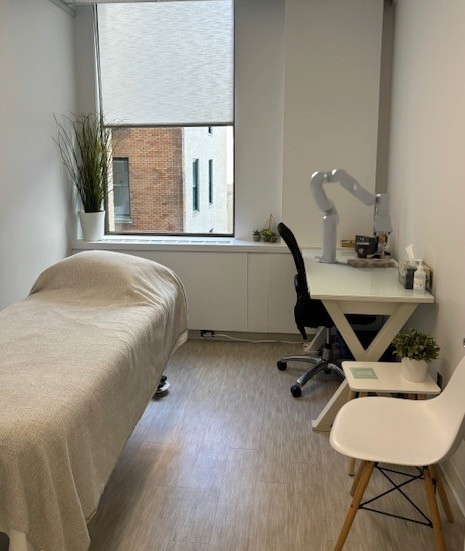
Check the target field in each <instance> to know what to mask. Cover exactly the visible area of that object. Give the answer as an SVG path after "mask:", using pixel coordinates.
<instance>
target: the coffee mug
mask: <svg viewBox="0 0 465 551" xmlns="http://www.w3.org/2000/svg"><path fill="white" fill-rule="evenodd" d="M355 246H356V257H357V259H362V258H363V259H364V258H365V259H368V255H369V254H371V253H372V252H373V251H374V250H375V247H374V246H373V245H370V243H369V242H356V245H355ZM371 247H372V248H373V249H372V251H370V252H368V251H369V249H370V248H371Z"/></svg>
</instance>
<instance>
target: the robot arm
mask: <svg viewBox="0 0 465 551" xmlns="http://www.w3.org/2000/svg"><path fill="white" fill-rule="evenodd" d="M334 183H337V184H338V185H340V186H341V187H342V188H343V189H345V190H346V191H347V192H349V193H350V194H351V195H352V196H354V197H355V198H356V199H357V200H358V201H360V202H361V203H362V204H364V205H365V206H369V207H371V206H375V205H376V210H375V211H374V213H373V214H374V215H375V216H374V220H373V227H372V228H371V229H370V233H372V234H373V235H374V236H375V243H377V244H378V242H379V236H378V234H380V233H384V234H385V242H384V243H387V242H388V237H389V235H391V234H392V233H394V230H393V227H392V220H391V216H390V215H389V214H390V194H388V193H372V192H370V191H368V190H367V189H366V188H364V187H363V186H362V185H361V184H360V182H359V181H358V180H357V179H356V178H354V176H351V174H349V173H348V172H347V171H346V170H345V169H343V168H341V167H339V168H336V169H329V170H318V171H316V172H314V173H313V174H312V175H311V177H310V180H309V190H310V193H311V195H312V197H313V200H314V204H315V206H316V208H317V211H319V212H320V213H321V214H322V216H323V217H322V220H321V253H320V254H319V255H314V256H313V258H314V259H317V260H318V262H320V263H325V264H334V263H338V262H339V259H337V241H338V240H337V239H338V232H337V231H338V230H337V226H338V225H339V224H340V220H341V219H340V215H339V213H338V210H337V208H336V206H335V203H334V201H333V200H332V199H331V198H329V197H328V195H327V193H326V190H325V188H324V186H323V185H325V184H334Z"/></svg>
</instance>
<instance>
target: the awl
mask: <svg viewBox="0 0 465 551" xmlns="http://www.w3.org/2000/svg"><path fill="white" fill-rule="evenodd" d="M378 236H379V242H378V243H377V246H378V247H377V250H378V252H380V253H381V252H385V243H386V242H385V233H379V234H378Z"/></svg>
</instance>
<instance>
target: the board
mask: <svg viewBox="0 0 465 551" xmlns="http://www.w3.org/2000/svg"><path fill="white" fill-rule="evenodd" d="M346 260H347V261H346V262H347V264H348V265H349V266H352V267H353V268H395V267H396V263H395V262H394V261H391V260H390V259H387V258H365V259H362V258H357V259H356V258H350V259H349V258H348V259H346Z"/></svg>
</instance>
